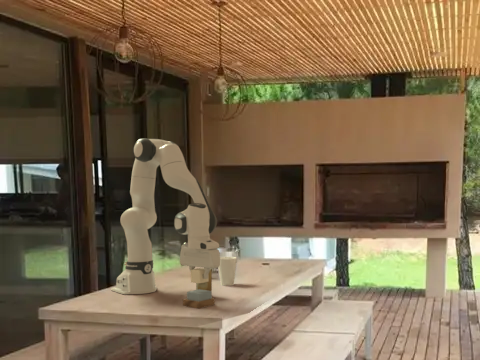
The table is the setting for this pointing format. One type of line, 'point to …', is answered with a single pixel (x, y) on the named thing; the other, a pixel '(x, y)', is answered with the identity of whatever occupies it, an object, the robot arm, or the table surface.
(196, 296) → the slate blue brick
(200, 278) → the cream brick
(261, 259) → the table surface
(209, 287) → the skincare box
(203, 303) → the walnut base brick
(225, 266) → the foam cup
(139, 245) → the robot arm
